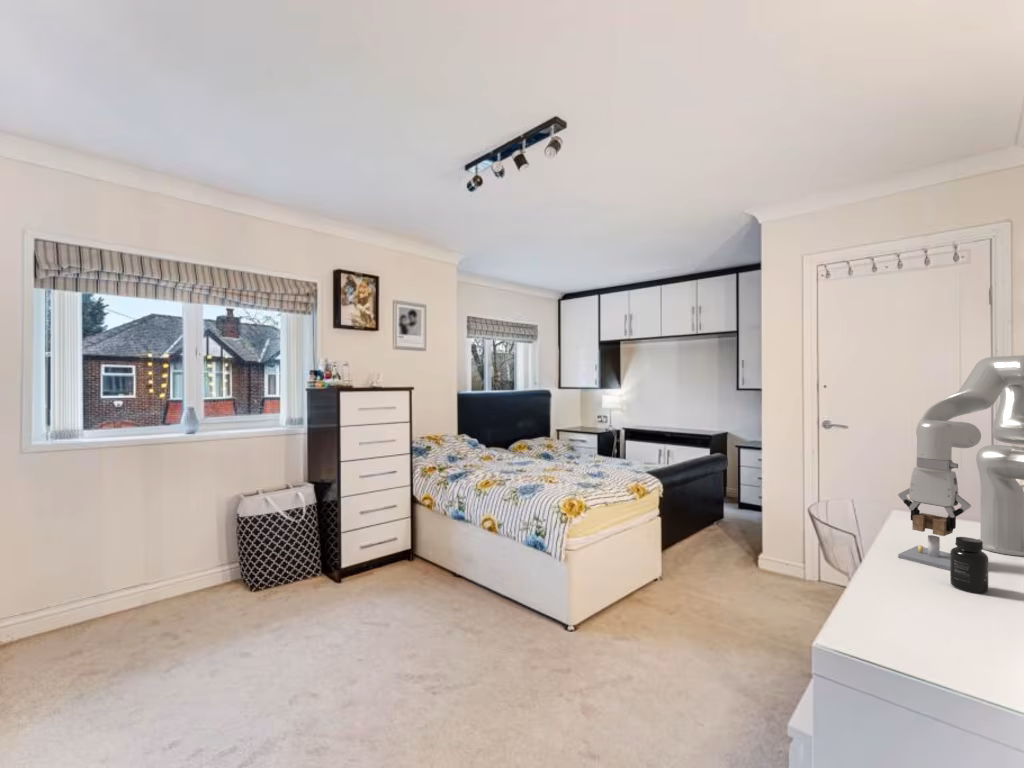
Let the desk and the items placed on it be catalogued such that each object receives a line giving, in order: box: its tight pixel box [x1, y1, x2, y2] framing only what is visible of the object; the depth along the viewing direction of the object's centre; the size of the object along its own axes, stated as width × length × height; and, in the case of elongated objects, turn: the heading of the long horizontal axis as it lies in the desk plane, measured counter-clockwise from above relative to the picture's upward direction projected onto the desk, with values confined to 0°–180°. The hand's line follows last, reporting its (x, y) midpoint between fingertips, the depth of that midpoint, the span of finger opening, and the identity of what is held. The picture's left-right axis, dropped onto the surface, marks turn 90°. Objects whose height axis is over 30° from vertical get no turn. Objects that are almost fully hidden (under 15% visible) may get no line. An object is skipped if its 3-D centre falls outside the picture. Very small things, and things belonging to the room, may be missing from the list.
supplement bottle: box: [949, 536, 989, 594], centre depth 119 cm, size 7×7×12 cm
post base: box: [897, 534, 950, 571], centre depth 138 cm, size 14×12×6 cm
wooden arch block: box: [911, 512, 954, 537], centre depth 138 cm, size 7×7×4 cm
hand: (932, 526), depth 138 cm, fingers closed on wooden arch block, 7 cm apart
